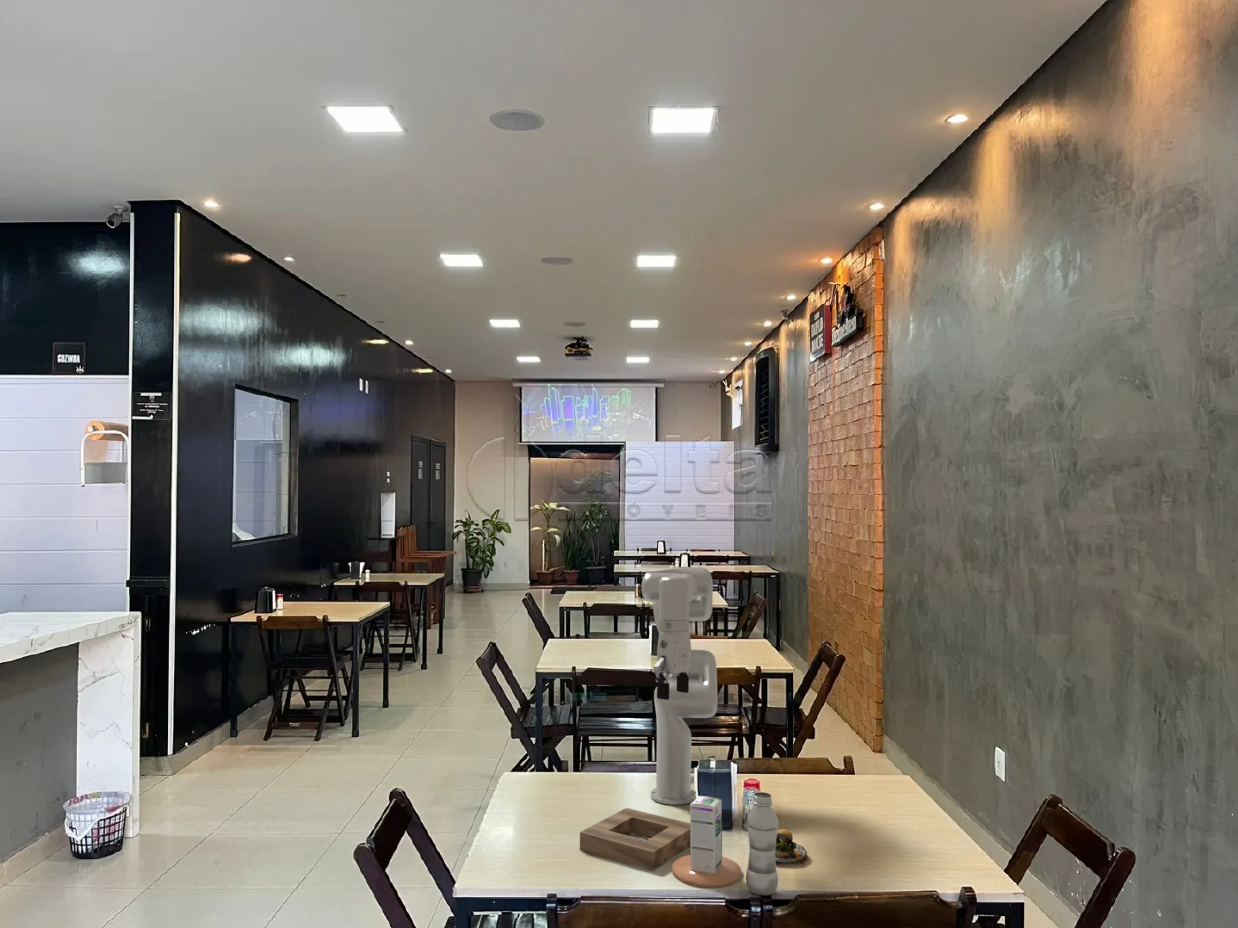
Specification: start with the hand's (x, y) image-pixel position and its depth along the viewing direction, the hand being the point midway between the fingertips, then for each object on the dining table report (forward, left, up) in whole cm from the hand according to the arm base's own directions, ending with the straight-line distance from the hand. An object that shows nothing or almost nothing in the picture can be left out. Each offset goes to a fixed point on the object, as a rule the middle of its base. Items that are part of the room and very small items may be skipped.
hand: (673, 695), depth 212 cm
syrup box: (+16, +18, -32) cm, 40 cm away
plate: (+16, +18, -33) cm, 41 cm away
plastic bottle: (+18, +32, -34) cm, 50 cm away
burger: (-2, +28, -34) cm, 44 cm away
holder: (+12, -2, -33) cm, 35 cm away
